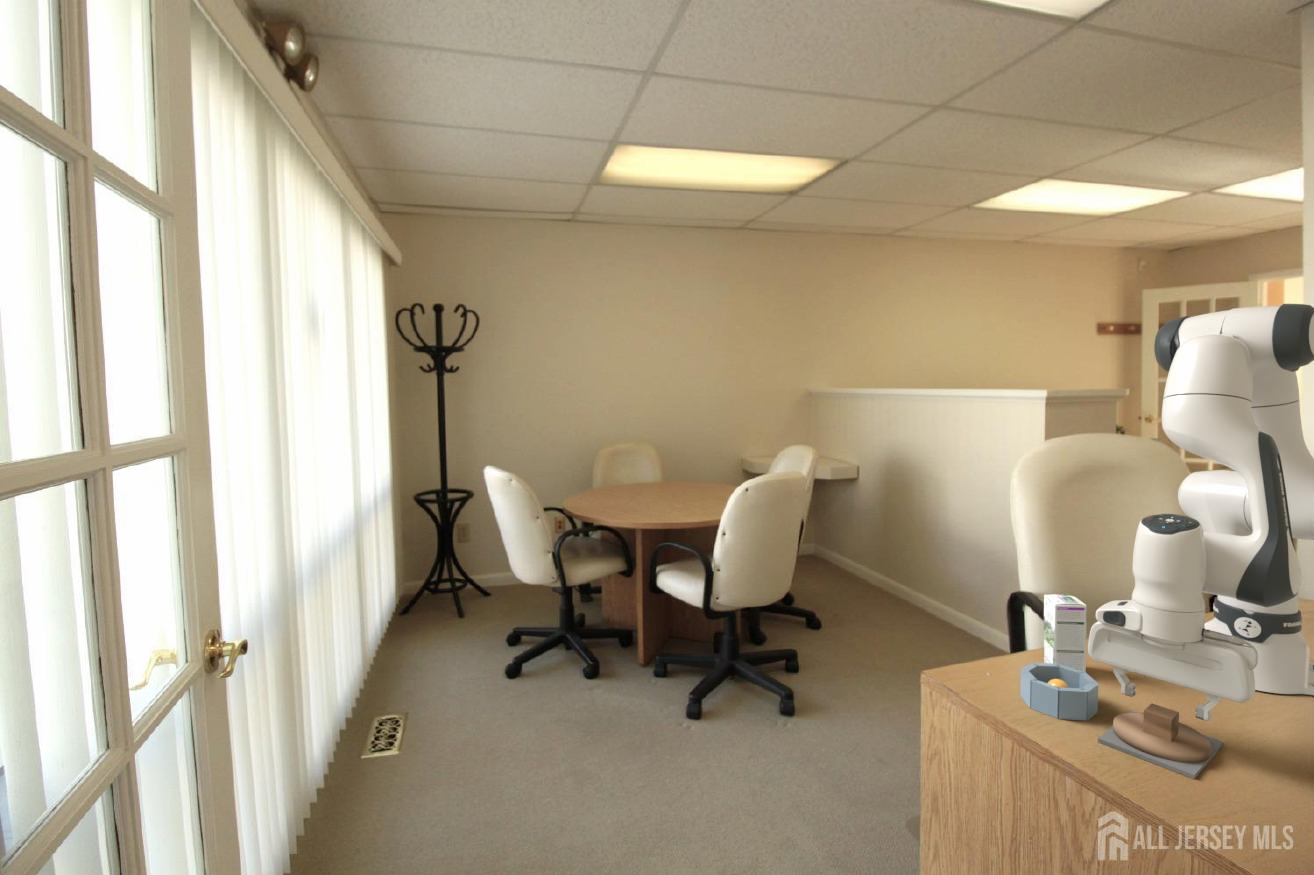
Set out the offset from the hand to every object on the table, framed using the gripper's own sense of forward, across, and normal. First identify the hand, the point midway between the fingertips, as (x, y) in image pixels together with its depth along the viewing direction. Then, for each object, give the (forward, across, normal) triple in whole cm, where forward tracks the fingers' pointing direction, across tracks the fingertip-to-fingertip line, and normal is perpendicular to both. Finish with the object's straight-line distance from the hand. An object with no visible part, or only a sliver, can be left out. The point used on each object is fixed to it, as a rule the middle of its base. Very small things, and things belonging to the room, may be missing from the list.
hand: (1164, 706), depth 98 cm
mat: (+6, 0, +1) cm, 6 cm away
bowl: (+6, +15, 0) cm, 16 cm away
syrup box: (+6, +20, -16) cm, 26 cm away
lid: (+5, 0, +1) cm, 5 cm away
